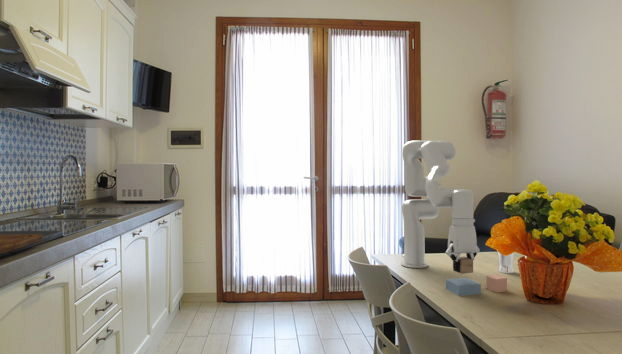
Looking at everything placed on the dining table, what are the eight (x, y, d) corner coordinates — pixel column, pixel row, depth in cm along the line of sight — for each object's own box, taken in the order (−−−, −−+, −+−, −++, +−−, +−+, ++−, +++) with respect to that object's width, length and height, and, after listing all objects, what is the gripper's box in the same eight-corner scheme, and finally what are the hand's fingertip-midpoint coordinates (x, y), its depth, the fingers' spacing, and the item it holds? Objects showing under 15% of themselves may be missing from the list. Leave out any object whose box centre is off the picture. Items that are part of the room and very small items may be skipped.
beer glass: (498, 273, 177) (497, 239, 176) (497, 269, 183) (497, 236, 183) (515, 274, 174) (515, 239, 174) (514, 270, 181) (514, 237, 180)
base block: (445, 289, 154) (445, 279, 154) (466, 287, 156) (466, 277, 156) (458, 296, 146) (458, 285, 146) (480, 294, 147) (480, 284, 147)
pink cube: (486, 288, 154) (486, 276, 154) (496, 287, 155) (496, 274, 155) (496, 292, 149) (496, 279, 149) (507, 291, 151) (506, 278, 150)
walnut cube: (453, 270, 152) (453, 257, 152) (464, 269, 154) (464, 256, 154) (462, 273, 147) (461, 260, 147) (473, 272, 149) (473, 259, 149)
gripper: (474, 220, 157) (474, 266, 157) (437, 222, 151) (437, 270, 152) (488, 222, 150) (488, 271, 150) (450, 224, 144) (450, 275, 144)
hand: (463, 270), depth 151 cm, fingers closed on walnut cube, 4 cm apart
